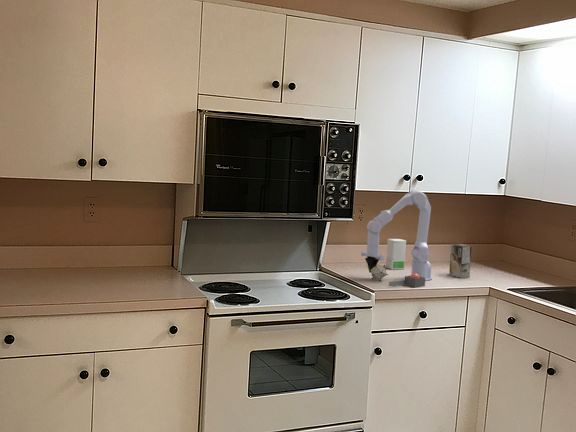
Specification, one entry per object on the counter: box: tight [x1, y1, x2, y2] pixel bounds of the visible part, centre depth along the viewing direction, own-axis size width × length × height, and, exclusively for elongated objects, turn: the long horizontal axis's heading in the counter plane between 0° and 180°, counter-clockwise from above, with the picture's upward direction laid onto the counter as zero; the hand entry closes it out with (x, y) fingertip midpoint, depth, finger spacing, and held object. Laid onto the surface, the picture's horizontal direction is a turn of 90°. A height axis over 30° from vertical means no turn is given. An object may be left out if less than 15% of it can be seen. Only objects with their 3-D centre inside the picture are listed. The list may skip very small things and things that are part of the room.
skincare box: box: [385, 238, 407, 270], centre depth 347 cm, size 8×7×16 cm
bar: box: [388, 279, 405, 287], centre depth 306 cm, size 9×1×2 cm, turn 126°
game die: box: [368, 263, 389, 282], centre depth 316 cm, size 9×8×10 cm
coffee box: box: [448, 243, 472, 279], centre depth 334 cm, size 9×6×16 cm
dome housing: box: [404, 275, 426, 288], centre depth 308 cm, size 7×7×4 cm
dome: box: [409, 273, 420, 279], centre depth 308 cm, size 5×5×5 cm
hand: (371, 272), depth 320 cm, fingers closed
